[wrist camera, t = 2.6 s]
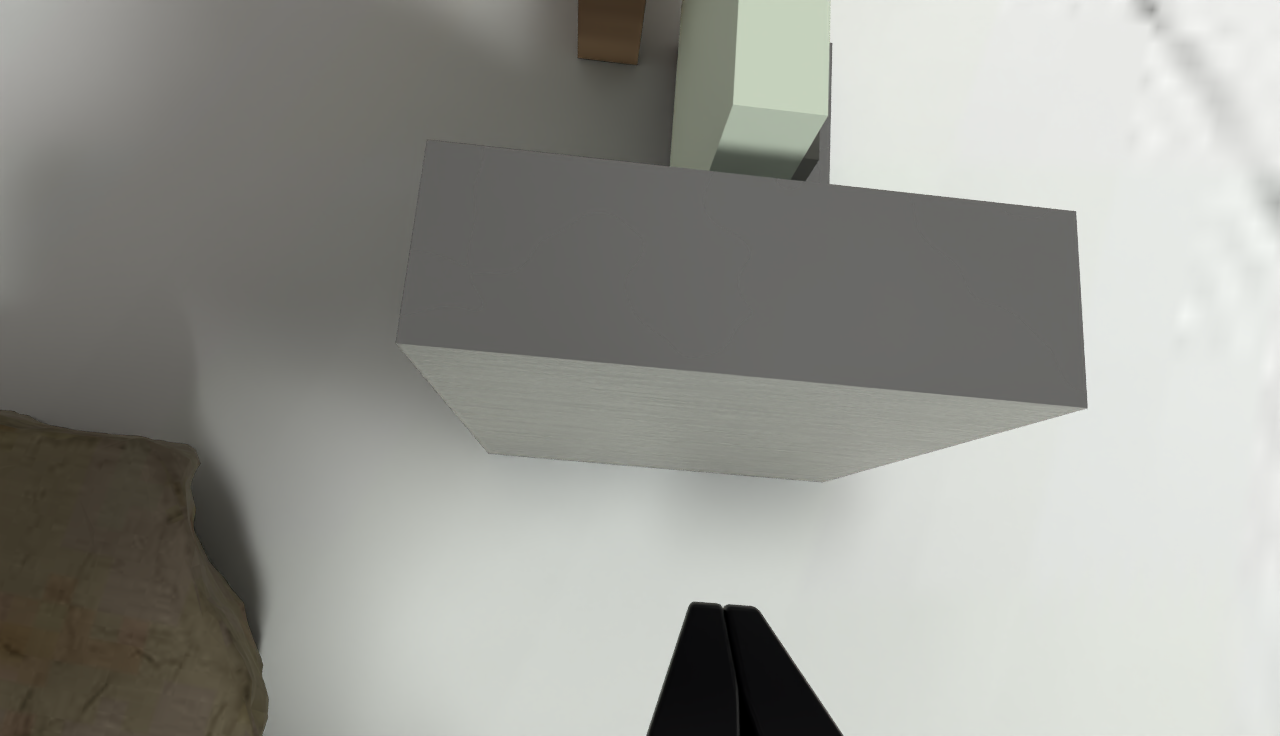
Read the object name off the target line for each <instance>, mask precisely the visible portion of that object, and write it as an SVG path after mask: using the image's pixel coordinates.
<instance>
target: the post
mask: <svg viewBox="0 0 1280 736" xmlns="http://www.w3.org/2000/svg"><path fill="white" fill-rule="evenodd" d="M645 3H646V0H578V58H583V59H591V60H599V61H608V62H616V63H625V64H633V65H637V63H638V55H639V48H640V40H641V33H642V26H643V18H644V11H645Z"/></svg>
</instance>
